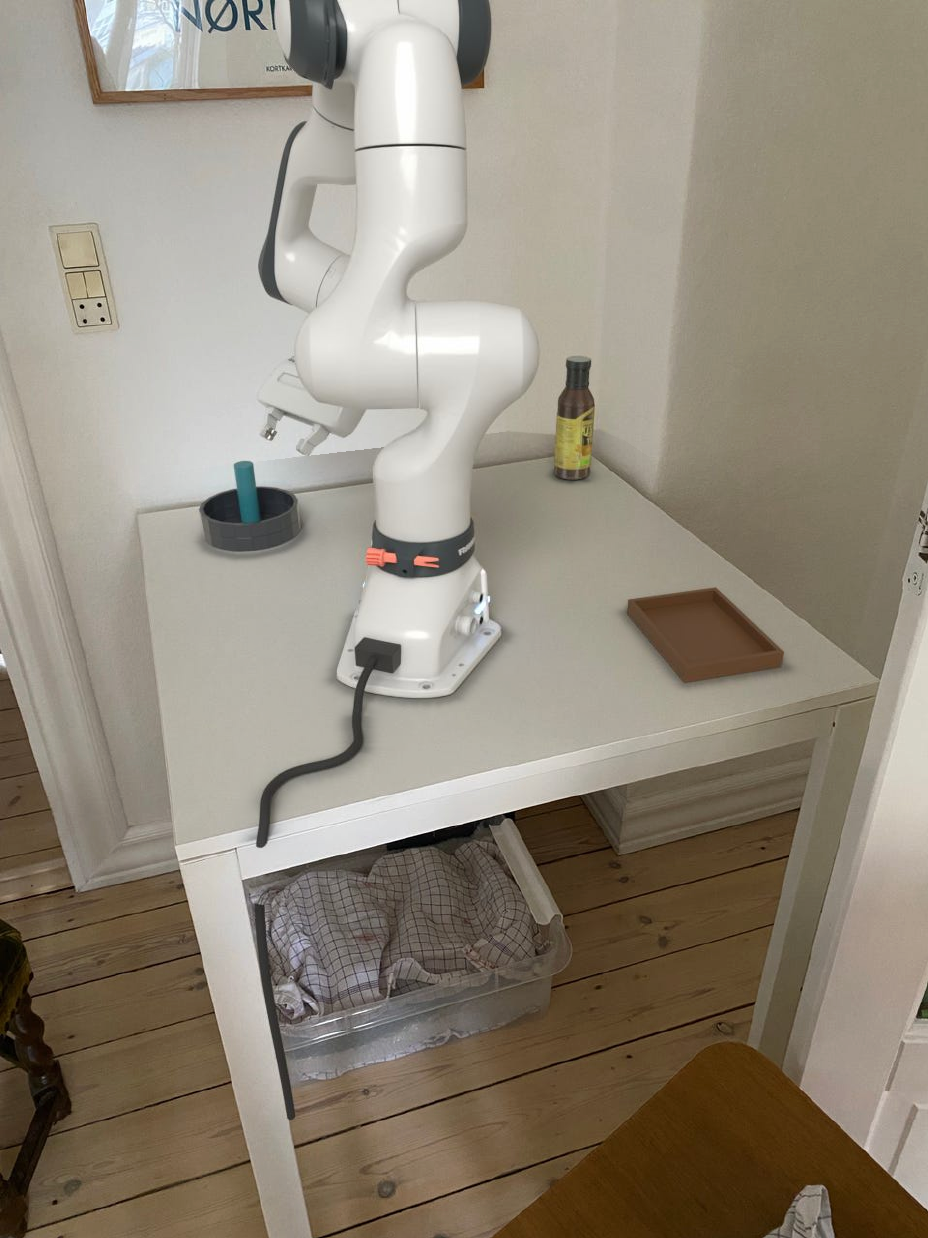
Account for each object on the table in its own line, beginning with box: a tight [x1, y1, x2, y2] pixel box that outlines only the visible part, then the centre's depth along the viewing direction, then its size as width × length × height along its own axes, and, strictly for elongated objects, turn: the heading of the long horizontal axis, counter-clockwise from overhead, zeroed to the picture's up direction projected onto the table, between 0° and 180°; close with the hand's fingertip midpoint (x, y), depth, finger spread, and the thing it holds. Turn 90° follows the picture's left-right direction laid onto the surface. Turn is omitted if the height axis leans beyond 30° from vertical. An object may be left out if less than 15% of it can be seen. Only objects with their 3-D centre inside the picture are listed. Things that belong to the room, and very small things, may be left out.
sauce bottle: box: [553, 355, 596, 481], centre depth 153 cm, size 6×6×20 cm
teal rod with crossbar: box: [233, 460, 262, 523], centre depth 135 cm, size 8×8×10 cm
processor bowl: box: [198, 485, 302, 553], centre depth 137 cm, size 14×14×5 cm
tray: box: [626, 587, 785, 684], centre depth 111 cm, size 16×12×2 cm
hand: (282, 445), depth 136 cm, fingers open, 8 cm apart
